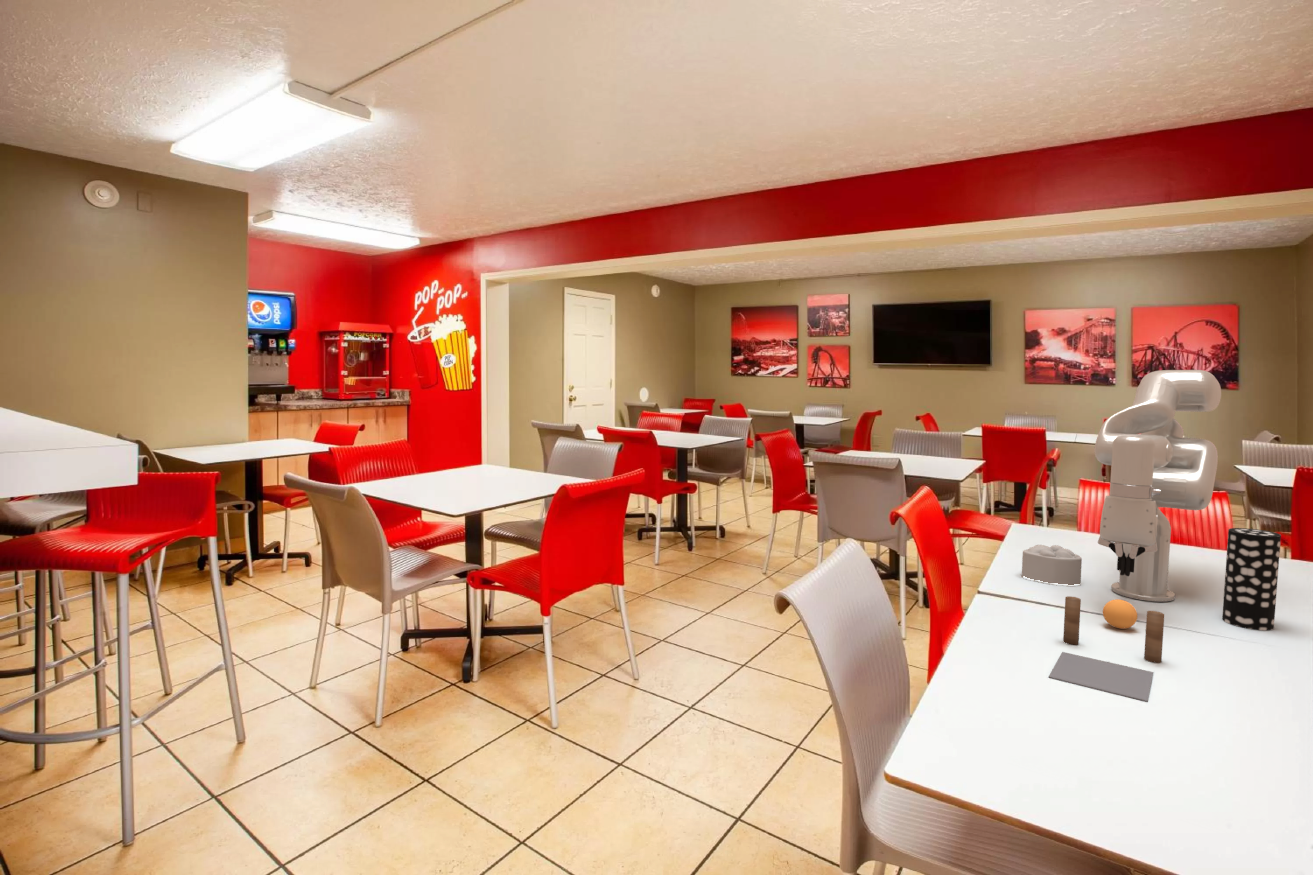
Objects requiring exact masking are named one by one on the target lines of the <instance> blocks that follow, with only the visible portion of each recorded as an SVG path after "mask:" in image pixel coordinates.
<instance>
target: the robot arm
mask: <svg viewBox="0 0 1313 875" xmlns="http://www.w3.org/2000/svg"><path fill="white" fill-rule="evenodd" d="M1221 399H1222V388H1221V384H1220V383H1219V381H1218V379H1217V378H1216V377H1215V375H1213V374H1212V373H1211V372H1209V371H1206V370H1202V369H1165V370H1161V369H1160V370H1155V371H1151V372H1149V373H1147V374H1146V375H1144V376H1143V378H1142V379H1141V380H1140V383H1139V385H1138V386H1137V388H1136V390H1135V397H1134V399H1133V402H1132V405H1130V406H1129V407H1125V408H1124V409H1122V410H1120V411H1118V412H1115V413H1114V414H1112V415H1111V416H1110V417H1108V418H1107V419H1106V420H1105V421H1104V422H1103V423H1102V425H1101V427H1100V430H1099V432H1098V434H1097V437H1096V440H1095V444H1094V456H1095V459H1096V460H1097V461H1098V462H1099V463H1100V464H1103V465H1106V466H1111V468H1110V469H1111V470H1110V479H1109V480H1110V483H1109V485H1110V486H1109V495H1106V496H1105V497H1104V502H1103V505H1102V510H1101V515H1100V516H1101V518H1100V525H1099V538H1098V540H1097V544H1098V545H1100V546H1103V547H1106V548H1109V549H1110V550H1111V551H1113V553H1114V554H1115V555H1116V557H1117V561H1116V562H1117V564H1116V570H1117V571H1119V579H1118V581H1117V582H1113V583H1112V584H1111V587H1110V588H1111V589H1110V590H1111V591H1112V592H1114V593H1115V594H1117V595H1120V596H1123V597H1126V598H1130V599H1135V600H1140V601H1145V602H1146V601H1147V602H1159V603H1161V602H1162V603H1165V602H1172V601H1174V600H1175V597H1176V594H1175V592H1173V591H1172V590H1170V589H1168V581H1169V580H1168V579H1169V566H1170V565H1169V563H1170V551H1171V549H1170V548H1171V534H1172V527H1171V524H1170V520H1168V518H1167V517H1166V515H1165V514H1164V513H1163V512H1162V511H1161V509H1160V508H1170V509H1177V510H1186V511H1187V510H1188V511H1199V510H1200V511H1202V510H1204V509H1206V508H1208V506H1209V505H1210V503H1211V501H1212V498H1213V492H1214V487H1215V481H1216V476H1217V470H1218V461H1219V457H1218V455H1219V454H1218V449H1217V447H1216V445H1215V444H1214V443H1213V442H1212V441H1211V440H1208V439H1206V438H1197V437H1196V438H1195V437H1194V438H1193V437H1192V438H1191V437H1184V434H1185V432H1184V428H1183V427H1182V425H1181V424H1180V423H1179V422H1178V420H1176V419H1175V414H1176V412H1194V413H1195V412H1197V413H1198V412H1199V413H1201V412H1202V413H1203V412H1207V413H1208V412H1209V413H1210V412H1213V411H1214V410H1216V409H1217V408H1218V407H1219V404H1220V402H1221V401H1222V400H1221Z"/></svg>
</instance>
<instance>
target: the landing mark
mask: <svg viewBox="0 0 1313 875" xmlns="http://www.w3.org/2000/svg"><path fill="white" fill-rule="evenodd" d="M1153 676H1154V672H1153V671H1150V670H1144V669H1140V668H1137V667H1132V666H1127V665H1122V664H1119V663H1115V662H1110V661H1107V660H1106V661H1104V660H1100V659H1096V658H1091V657H1087V656H1083V655H1077V654H1074V653H1069V652H1065V651H1062V652H1061V653H1060V656H1059V657H1058V658H1057V661H1056V662H1055V664H1054V666H1053V668H1052V670H1051V671H1050V673H1049V675H1048V678H1049V679H1054V680H1057V681H1061V682H1064V683H1070V684H1073V685H1078V686H1081V687H1086V688H1090V689H1094V690H1097V691H1102V692H1106V693H1109V694H1113V695H1118V696H1122V697H1126V698H1130V699H1134V700H1138V701H1143V702H1146V703H1148V702H1149V698H1150V694H1151V693H1150V692H1151V687H1152V683H1153V682H1152V681H1153Z"/></svg>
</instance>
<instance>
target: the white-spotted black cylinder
mask: <svg viewBox="0 0 1313 875" xmlns="http://www.w3.org/2000/svg"><path fill="white" fill-rule="evenodd" d="M1281 539H1282V535H1281V533H1278V532H1274V531H1269V530H1263V529H1257V528H1244V527H1243V528H1242V527H1232V528H1231V527H1230V528H1228V532H1227V546H1226V561H1225V571H1224V572H1225V573H1224V574H1225V575H1224V588H1223V602H1222V604H1223V605H1222V614H1221V615H1222V618H1221V620H1222V621H1223V622H1225V623H1226V624H1230V625H1231V626H1235V627H1239V628H1242V629H1243V628H1244V629H1248V630H1253V631H1254V630H1255V631H1273V630H1274V629H1275V618H1276V617H1275V615H1276V604H1277V593H1278V591H1277V590H1278V581H1279V580H1278V578H1279V565H1280V551H1281V542H1282V541H1281Z"/></svg>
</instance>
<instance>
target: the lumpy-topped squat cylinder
mask: <svg viewBox="0 0 1313 875" xmlns="http://www.w3.org/2000/svg"><path fill="white" fill-rule="evenodd" d="M1021 560H1022V561H1021V564H1022V565H1021V577H1022V576H1025V577H1027V578H1030V579H1034V580H1040V581H1043V582H1048V583H1058V584H1068V585H1074V584H1080V583H1081V582H1082V581H1081V580H1082V564H1083V563H1082V562H1083V561H1082V560H1083V558H1082V556H1080V555H1079V554H1076V553H1075V552H1073V551H1072V550H1071V549H1069V548H1064V547H1063V546H1061V545H1059V544H1058V545H1057V544H1055V545H1054V544H1053V545H1050V546H1047V545H1044V544H1043V545H1042V544H1035V545H1034V546H1031V547H1029V548H1028V549H1024V550H1022V559H1021Z"/></svg>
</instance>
